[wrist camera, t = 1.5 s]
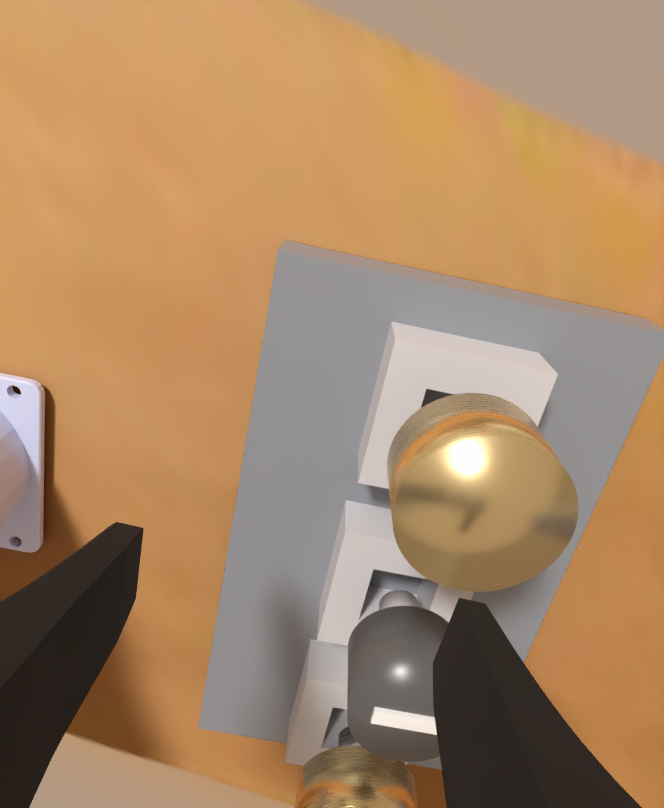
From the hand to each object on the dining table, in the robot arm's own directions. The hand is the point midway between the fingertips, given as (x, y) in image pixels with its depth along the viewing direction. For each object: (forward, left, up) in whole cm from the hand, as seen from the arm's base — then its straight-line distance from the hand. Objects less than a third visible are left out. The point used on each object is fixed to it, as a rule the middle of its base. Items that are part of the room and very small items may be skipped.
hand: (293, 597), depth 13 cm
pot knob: (+4, -5, -6) cm, 9 cm away
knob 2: (+4, +2, -6) cm, 8 cm away
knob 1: (+4, -12, -6) cm, 14 cm away
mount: (+4, -5, -10) cm, 12 cm away
